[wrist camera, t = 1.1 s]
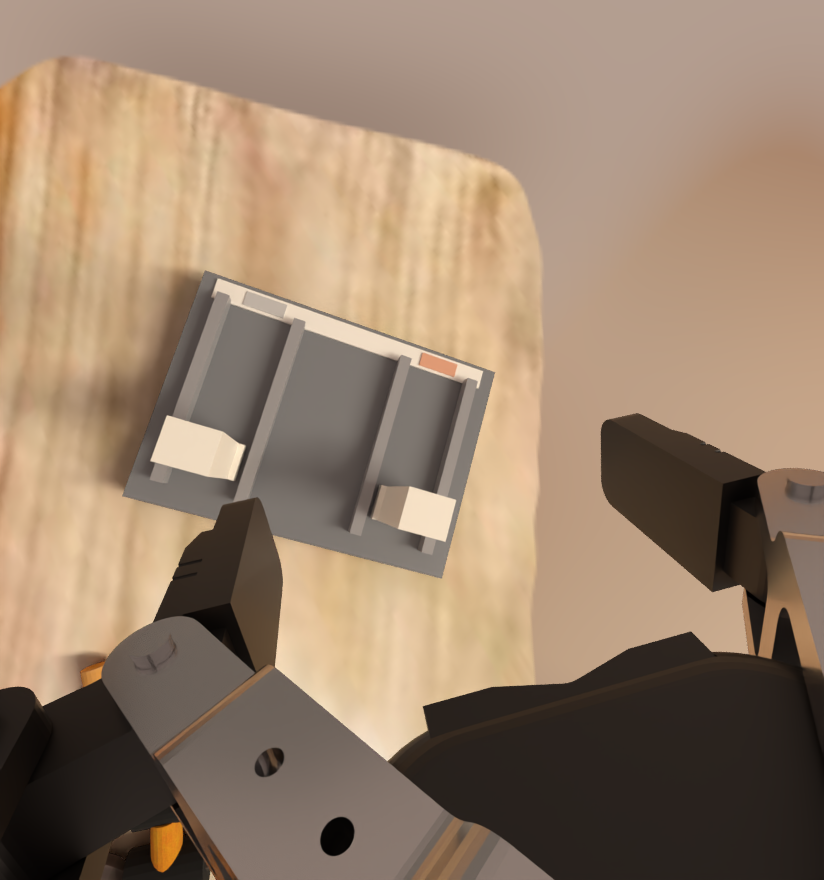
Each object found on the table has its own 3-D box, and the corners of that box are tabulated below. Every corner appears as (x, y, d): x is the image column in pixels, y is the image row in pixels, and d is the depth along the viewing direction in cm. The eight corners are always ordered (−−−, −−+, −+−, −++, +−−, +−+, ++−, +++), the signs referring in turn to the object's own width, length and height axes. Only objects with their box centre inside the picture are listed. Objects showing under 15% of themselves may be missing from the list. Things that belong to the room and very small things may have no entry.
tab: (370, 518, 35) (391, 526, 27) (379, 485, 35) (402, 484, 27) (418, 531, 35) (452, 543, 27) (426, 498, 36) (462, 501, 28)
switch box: (134, 495, 34) (115, 496, 30) (211, 284, 36) (201, 262, 33) (432, 572, 38) (446, 581, 34) (483, 379, 40) (501, 368, 37)
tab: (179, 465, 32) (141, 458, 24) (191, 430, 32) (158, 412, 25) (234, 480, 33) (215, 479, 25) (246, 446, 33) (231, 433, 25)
